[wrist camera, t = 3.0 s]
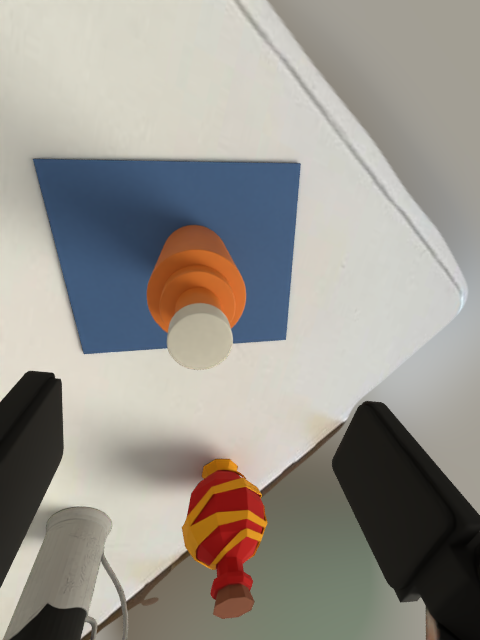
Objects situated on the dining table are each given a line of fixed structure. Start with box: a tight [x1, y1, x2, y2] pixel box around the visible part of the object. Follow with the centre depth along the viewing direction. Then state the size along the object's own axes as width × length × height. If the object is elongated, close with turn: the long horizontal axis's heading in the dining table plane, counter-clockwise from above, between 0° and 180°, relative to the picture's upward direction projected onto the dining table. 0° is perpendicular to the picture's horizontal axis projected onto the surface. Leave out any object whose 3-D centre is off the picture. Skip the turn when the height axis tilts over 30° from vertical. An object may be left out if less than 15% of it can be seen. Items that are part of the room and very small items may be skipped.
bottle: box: [147, 225, 246, 370], centre depth 21 cm, size 6×6×17 cm
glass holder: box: [3, 507, 128, 640], centre depth 36 cm, size 9×14×15 cm, turn 49°
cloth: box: [33, 159, 301, 354], centre depth 28 cm, size 22×18×1 cm
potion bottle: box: [182, 459, 267, 619], centre depth 35 cm, size 10×10×15 cm
